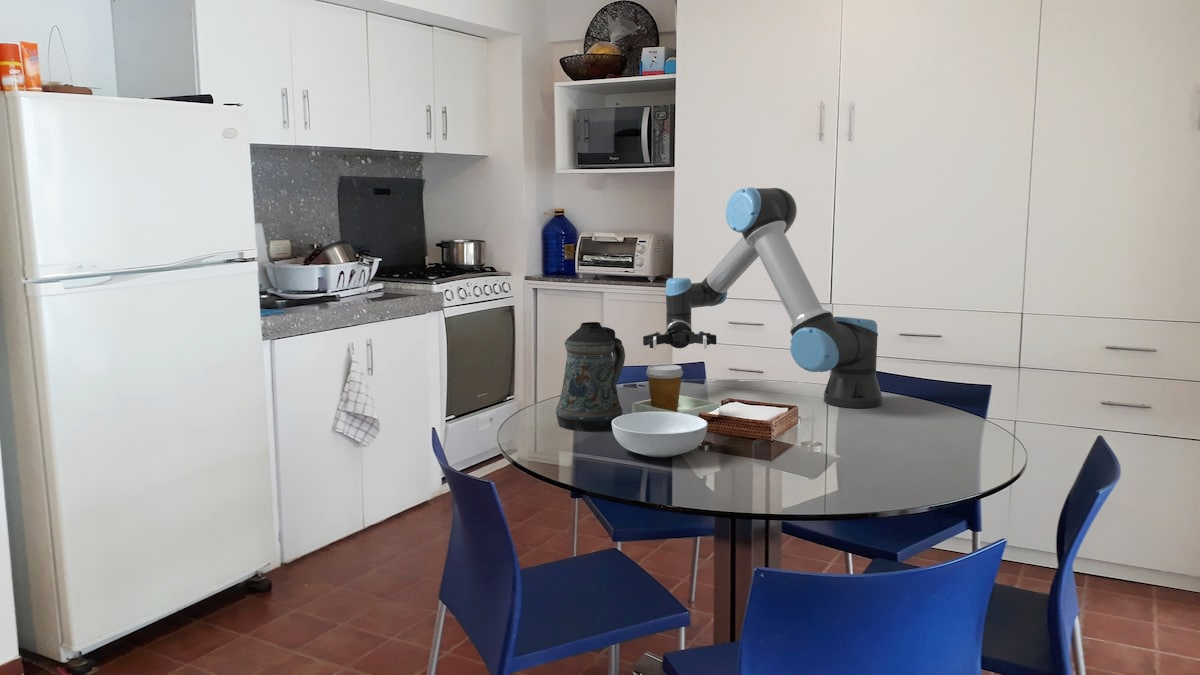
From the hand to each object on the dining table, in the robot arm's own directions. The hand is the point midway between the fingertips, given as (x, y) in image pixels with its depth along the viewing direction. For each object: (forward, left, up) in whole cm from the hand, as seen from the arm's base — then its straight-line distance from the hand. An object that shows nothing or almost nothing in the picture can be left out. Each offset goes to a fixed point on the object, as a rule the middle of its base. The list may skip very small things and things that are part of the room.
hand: (679, 344), depth 239 cm
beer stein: (+2, +30, -17) cm, 35 cm away
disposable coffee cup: (-7, +13, -16) cm, 21 cm away
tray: (-9, +11, -16) cm, 22 cm away
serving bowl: (-29, +37, -17) cm, 50 cm away
